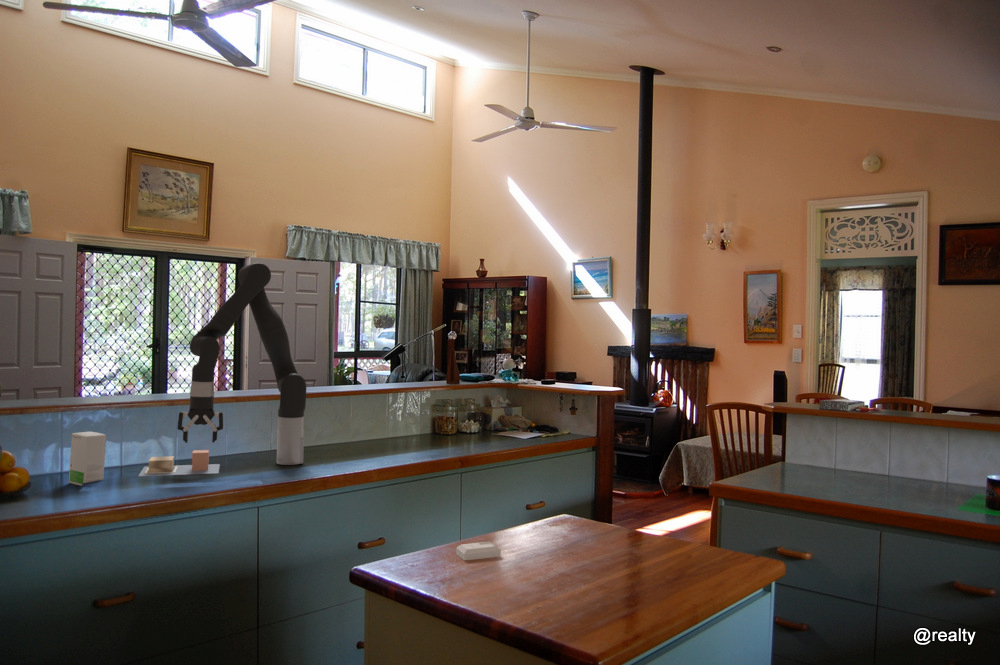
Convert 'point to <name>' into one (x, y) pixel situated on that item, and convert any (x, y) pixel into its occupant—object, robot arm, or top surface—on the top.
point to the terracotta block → (200, 460)
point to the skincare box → (87, 457)
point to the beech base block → (161, 464)
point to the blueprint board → (182, 470)
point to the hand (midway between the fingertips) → (199, 442)
